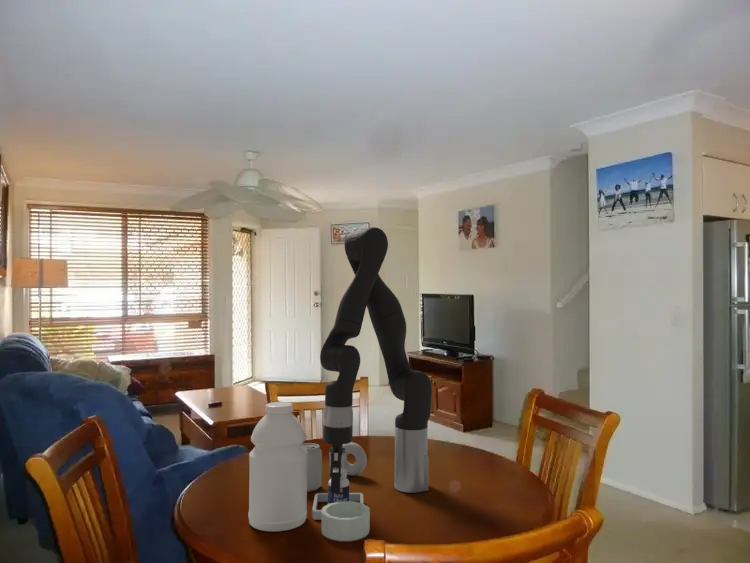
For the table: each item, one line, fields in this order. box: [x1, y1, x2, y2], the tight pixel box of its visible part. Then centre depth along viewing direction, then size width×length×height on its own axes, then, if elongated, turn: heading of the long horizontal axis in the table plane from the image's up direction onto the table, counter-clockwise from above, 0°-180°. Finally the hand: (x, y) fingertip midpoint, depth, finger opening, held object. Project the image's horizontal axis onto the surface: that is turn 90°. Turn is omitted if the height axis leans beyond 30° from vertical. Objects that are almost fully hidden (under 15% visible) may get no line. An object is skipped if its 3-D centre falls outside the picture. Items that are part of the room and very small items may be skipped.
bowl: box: [320, 501, 371, 542], centre depth 132 cm, size 11×11×5 cm
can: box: [302, 442, 323, 493], centre depth 160 cm, size 8×8×12 cm
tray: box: [311, 492, 364, 521], centre depth 144 cm, size 13×13×2 cm
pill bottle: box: [327, 469, 350, 505], centre depth 145 cm, size 5×5×10 cm
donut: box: [343, 441, 368, 477], centre depth 172 cm, size 10×4×10 cm, turn 68°
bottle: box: [247, 401, 308, 532], centre depth 137 cm, size 14×14×28 cm
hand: (336, 487), depth 145 cm, fingers open, 8 cm apart
